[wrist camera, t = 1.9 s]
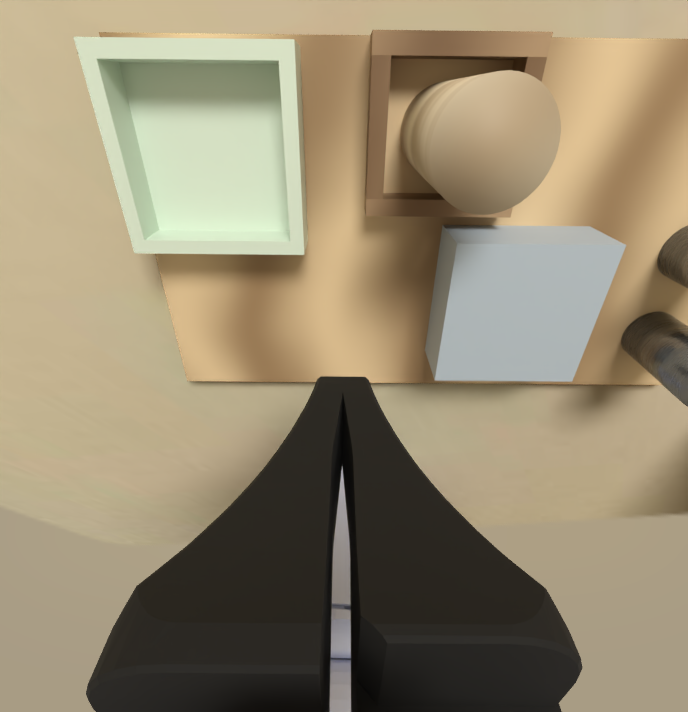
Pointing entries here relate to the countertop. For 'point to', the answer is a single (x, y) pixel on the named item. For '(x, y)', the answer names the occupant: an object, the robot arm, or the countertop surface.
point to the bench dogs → (664, 326)
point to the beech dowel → (483, 139)
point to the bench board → (439, 207)
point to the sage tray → (203, 141)
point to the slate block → (517, 300)
